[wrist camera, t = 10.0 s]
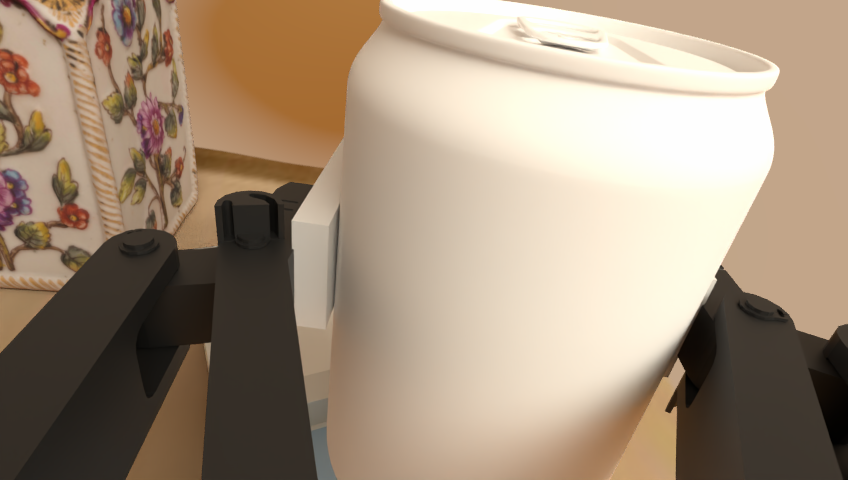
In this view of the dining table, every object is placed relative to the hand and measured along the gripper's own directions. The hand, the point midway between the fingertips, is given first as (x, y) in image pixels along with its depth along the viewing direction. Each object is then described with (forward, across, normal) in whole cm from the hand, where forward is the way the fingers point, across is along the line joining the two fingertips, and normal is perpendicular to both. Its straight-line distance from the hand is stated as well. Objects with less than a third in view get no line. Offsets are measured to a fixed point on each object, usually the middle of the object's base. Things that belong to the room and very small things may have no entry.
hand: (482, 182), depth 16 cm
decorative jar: (+10, -22, -12) cm, 27 cm away
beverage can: (-5, 0, -7) cm, 8 cm away
